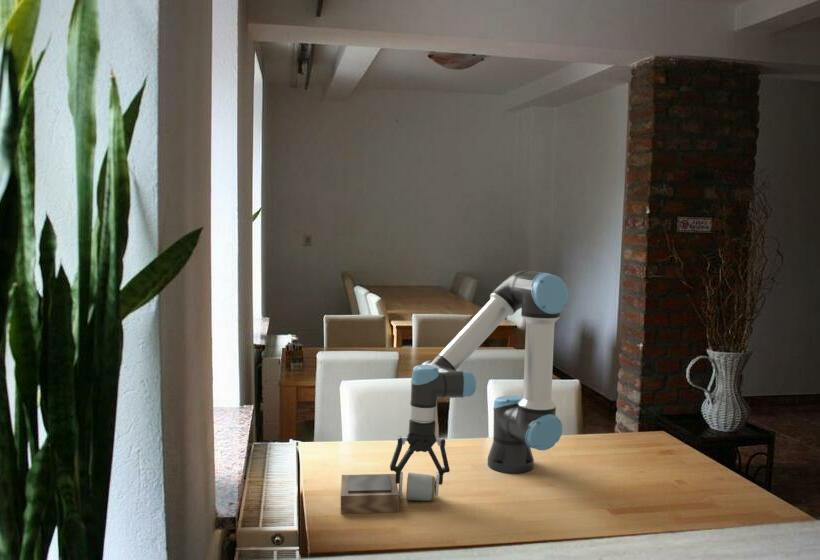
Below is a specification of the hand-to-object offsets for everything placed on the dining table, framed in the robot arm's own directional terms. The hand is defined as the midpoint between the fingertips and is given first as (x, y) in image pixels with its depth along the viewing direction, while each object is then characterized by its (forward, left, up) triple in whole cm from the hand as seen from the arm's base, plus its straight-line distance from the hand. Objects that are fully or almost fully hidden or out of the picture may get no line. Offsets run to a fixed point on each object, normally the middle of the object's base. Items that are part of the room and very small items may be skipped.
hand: (418, 494), depth 211 cm
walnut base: (+14, +1, -1) cm, 14 cm away
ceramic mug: (-1, -1, -1) cm, 2 cm away
